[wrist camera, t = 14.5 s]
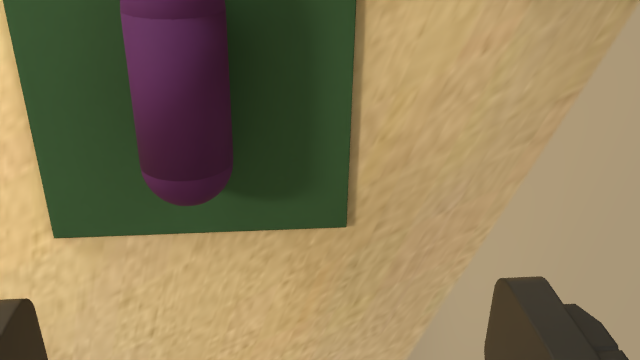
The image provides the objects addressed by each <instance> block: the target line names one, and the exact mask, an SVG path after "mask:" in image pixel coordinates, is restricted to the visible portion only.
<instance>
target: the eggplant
mask: <svg viewBox="0 0 640 360" xmlns="http://www.w3.org/2000/svg"><path fill="white" fill-rule="evenodd" d="M120 14H121V22H122V30H123V38H124V45H125V53H126V61H127V69H128V76H129V84H130V92H131V100H132V107H133V115H134V123H135V131H136V139H137V146H138V154H139V162H140V168H141V172H142V176H143V178H144V180H145V182H146V184H147V185H148V187H149V188H150V189H151V190H152V192H153V193H154V194H156V195H157V196H158V197H160V198H161V199H162V200H164V201H166V202H169V203H171V204H174V205H178V206H195V205H200V204H203V203H206V202H208V201H209V200H211V199H213V198H214V197H216V196H217V195H218V194H219V193H220V192H221V191H222V190H223V189H224V188H225V186H226V184H227V183H228V181H229V179H230V177H231V173H232V170H233V140H232V120H231V100H230V81H229V61H228V41H227V21H226V6H225V0H120Z"/></svg>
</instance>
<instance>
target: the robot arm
mask: <svg viewBox="0 0 640 360" xmlns="http://www.w3.org/2000/svg"><path fill="white" fill-rule="evenodd" d="M484 352H485V354H484V355H485V360H629V359H628V358H627V357H626V356H625V354H624V353H623V351H622V350H619V349H618V345H617V343H616V342H615V341H614V339H613V338H612V337H611V335H610V334H609V333H608V331H607V330H606V329H605V327H604V326H603V325H602V323H601V322H599V321H598V320H597V319H595V318H594V317H592V316H591V315H590V314H588V313H587V312H586V311H584V310H583V309H581V308H580V307H579V306H577V305H576V304H563V303H562V302H561V300H560V299H559V297H558V296H557V294H556V293H555V291H554V290H553V289H552V287H551V286H550V284H549V283H548V281H547V280H546V279H545V278H543V277H518V278H500V279H499V280H498V281H497V282H496V284H495V288H494V293H493V299H492V305H491V311H490V317H489V323H488V328H487V334H486V340H485V349H484ZM0 360H48V358H47V354H46V350H45V346H44V342H43V338H42V334H41V331H40V327H39V323H38V319H37V315H36V311H35V308H34V305H33V303H32V302H31V301H30V300H29V299H7V300H0Z"/></svg>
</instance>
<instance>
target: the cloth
mask: <svg viewBox="0 0 640 360" xmlns="http://www.w3.org/2000/svg"><path fill="white" fill-rule="evenodd" d="M3 3H4V7H5V12H6V17H7V21H8V26H9V31H10V35H11V40H12V44H13V49H14V54H15V58H16V63H17V68H18V72H19V77H20V82H21V86H22V91H23V96H24V100H25V105H26V110H27V114H28V119H29V123H30V128H31V133H32V137H33V142H34V147H35V151H36V156H37V161H38V165H39V170H40V175H41V179H42V184H43V188H44V193H45V198H46V202H47V207H48V212H49V216H50V221H51V226H52V230H53V235H54V238H73V237H100V236H126V235H152V234H179V233H205V232H231V231H258V230H284V229H310V228H337V227H346V223H347V200H348V177H349V154H350V131H351V108H352V85H353V61H354V38H355V15H356V0H225V6H226V21H227V41H228V61H229V81H230V100H231V120H232V140H233V170H232V173H231V177H230V179H229V181H228V183H227V184H226V186H225V188H224V189H223V190H222V191H221V192H220V193H219V194H218V195H217V196H216V197H214V198H213V199H211V200H209V201H208V202H206V203H203V204H200V205H195V206H178V205H174V204H171V203H169V202H166V201H164V200H162V199H161V198H160V197H158V196H157V195H156V194H154V193H153V192H152V190H151V189H150V188H149V187H148V185H147V184H146V182H145V180H144V178H143V176H142V172H141V168H140V162H139V154H138V146H137V139H136V131H135V123H134V115H133V107H132V100H131V92H130V84H129V76H128V69H127V61H126V53H125V45H124V38H123V30H122V22H121V14H120V0H3Z"/></svg>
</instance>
